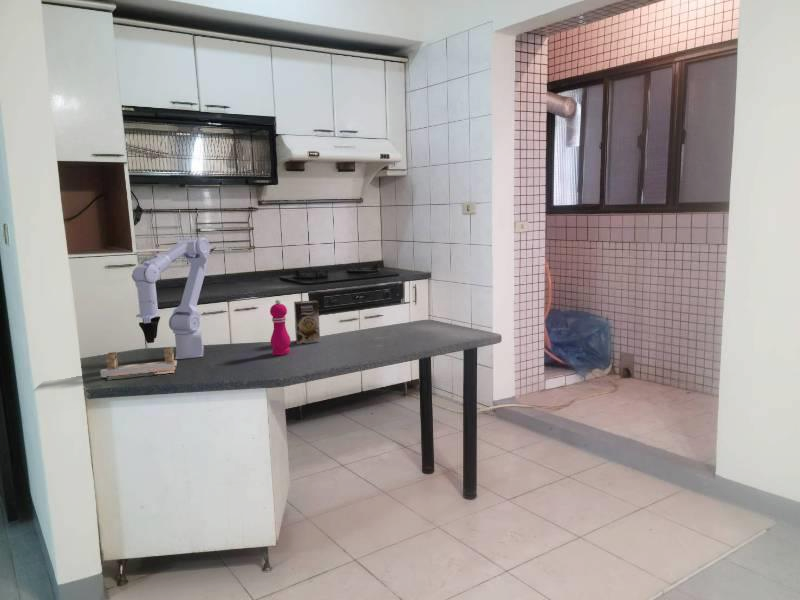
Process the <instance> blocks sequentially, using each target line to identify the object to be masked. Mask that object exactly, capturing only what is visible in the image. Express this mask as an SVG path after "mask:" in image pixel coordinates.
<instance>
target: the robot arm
mask: <svg viewBox="0 0 800 600" xmlns="http://www.w3.org/2000/svg"><path fill="white" fill-rule="evenodd" d="M210 253H211V246H210V243H209V240H208V239H207V238H206V237H182V238H181V239H180V240H178V241H177V243H176V244H175V245H174V246H173V247H171V248H170V249H169V250H167V251H166V252H165V253H156V254H153V257H152V258H150V260H148V261H147V260H146V261H145V262H144V264H143V265H137V266H135V268H134V269H133V270H132V273H131V278H132V281H133V282H135V287H136V290H137V298H138V308H139V313H137V314H136V315H135V316H136V318H141V319H142V322H138V326H139V327H140V329H141V330H142V332H143V334H144V338H145V341H146V343H147V344H151V343H152V344H153V343H155V339H156V338H157V337H158V326H159V323H160V319H161V316H160V313H159V309H158V308H159V307H158V306H159V305H158V298H157V297H158V296H157V287H156V286H157V285H156V282H157V281H158V279H159V276H160V275H161V274H163V273H164V272H165V271H167V270H168V269H169V268H170V267H171V263H172V262H174V261H175V260H176V259H178V258H180V257H181V256H183V258H185V260H186V261H187V262H188V263H189V264H190V269H189V272H188V276H187V280H186V283H185V287H184V291H183V294H182V299H181V301H180V304H179V305H178V306H177V307H176V308H175V309H173V311H172V314H171V315H170V317H169V318H168V326H169V329H170V330H172V334H174V341H175V350H176V354H175V356H174V360H182V359H183V360H184V359H192V358H203V357H204V351H205V347H204V344H203V335H202V331H198V330H199V328H200V325H201V322H200V321H201V320H200V319H201V318H200V317H201V313H200V311H198V309H197V306H198V301H199V299H200V293H201V291H202V286H203V282H204V279H205V275H206V270H207V268H208V262H209V261H208V259H209V255H210Z"/></svg>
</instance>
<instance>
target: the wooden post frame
mask: <svg viewBox="0 0 800 600" xmlns="http://www.w3.org/2000/svg"><path fill="white" fill-rule="evenodd" d="M163 352H164V361H154V362H146V363H135V364H134V363H133V364H125V365H119V363H118V355H117V354H118V353H117V351H112V352H111V351H110V352H108V353H107V354H108V355H105V362H106V369H111V368H121V367H131V366H141V365H151V364H161V363H171V362H174V366H176V367H177V363H178V359H175V356H174V355H175V354H174V347H173V346H168V347H167V346H166V347H164V350H163Z"/></svg>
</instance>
